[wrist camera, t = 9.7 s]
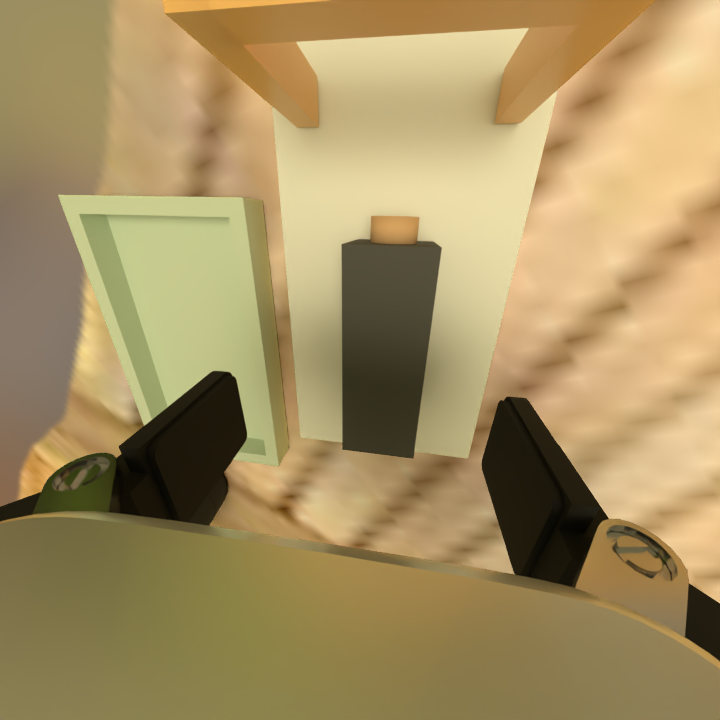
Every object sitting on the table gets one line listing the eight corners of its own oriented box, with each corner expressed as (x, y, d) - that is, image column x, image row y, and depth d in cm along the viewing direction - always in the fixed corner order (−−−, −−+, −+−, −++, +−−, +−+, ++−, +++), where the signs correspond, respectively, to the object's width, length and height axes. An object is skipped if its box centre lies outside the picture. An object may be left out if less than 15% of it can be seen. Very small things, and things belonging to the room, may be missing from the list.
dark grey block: (410, 423, 22) (411, 472, 18) (355, 417, 23) (342, 463, 19) (436, 218, 16) (446, 216, 12) (359, 216, 17) (341, 213, 12)
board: (466, 451, 24) (467, 458, 23) (303, 431, 26) (300, 437, 25) (573, -3, 13) (583, -16, 12) (271, 19, 14) (263, 8, 14)
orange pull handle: (520, 123, 14) (686, -28, 6) (296, 127, 15) (164, 13, 7) (532, 67, 13) (748, -209, 5) (294, 77, 14) (139, -120, 6)
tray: (289, 446, 27) (278, 466, 24) (172, 431, 28) (152, 448, 26) (262, 200, 18) (242, 197, 16) (96, 198, 20) (57, 194, 17)
